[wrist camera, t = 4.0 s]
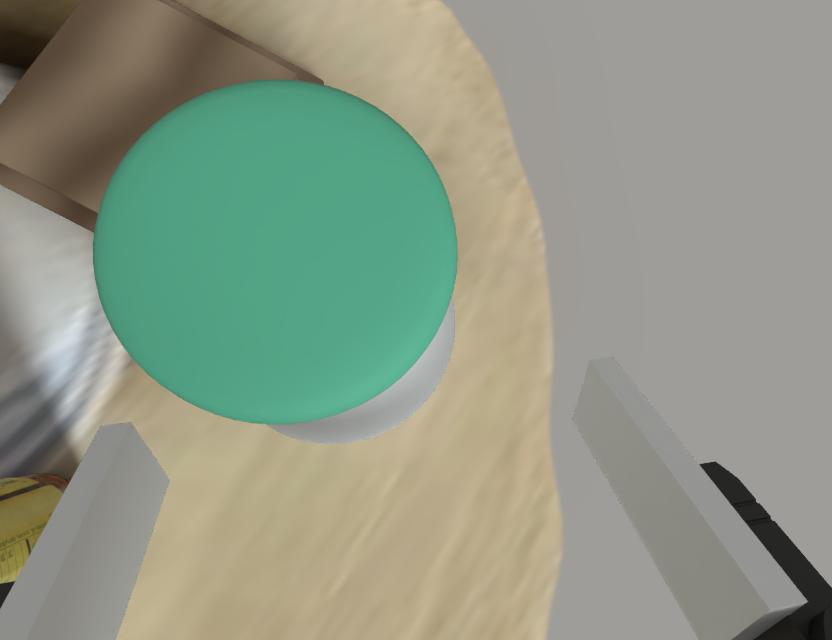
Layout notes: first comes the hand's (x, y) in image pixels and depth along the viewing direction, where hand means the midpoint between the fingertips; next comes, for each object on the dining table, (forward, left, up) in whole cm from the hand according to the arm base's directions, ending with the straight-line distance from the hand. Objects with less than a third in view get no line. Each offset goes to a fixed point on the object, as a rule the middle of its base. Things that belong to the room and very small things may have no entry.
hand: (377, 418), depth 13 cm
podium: (-18, +8, -12) cm, 24 cm away
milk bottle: (-2, +2, -12) cm, 13 cm away
